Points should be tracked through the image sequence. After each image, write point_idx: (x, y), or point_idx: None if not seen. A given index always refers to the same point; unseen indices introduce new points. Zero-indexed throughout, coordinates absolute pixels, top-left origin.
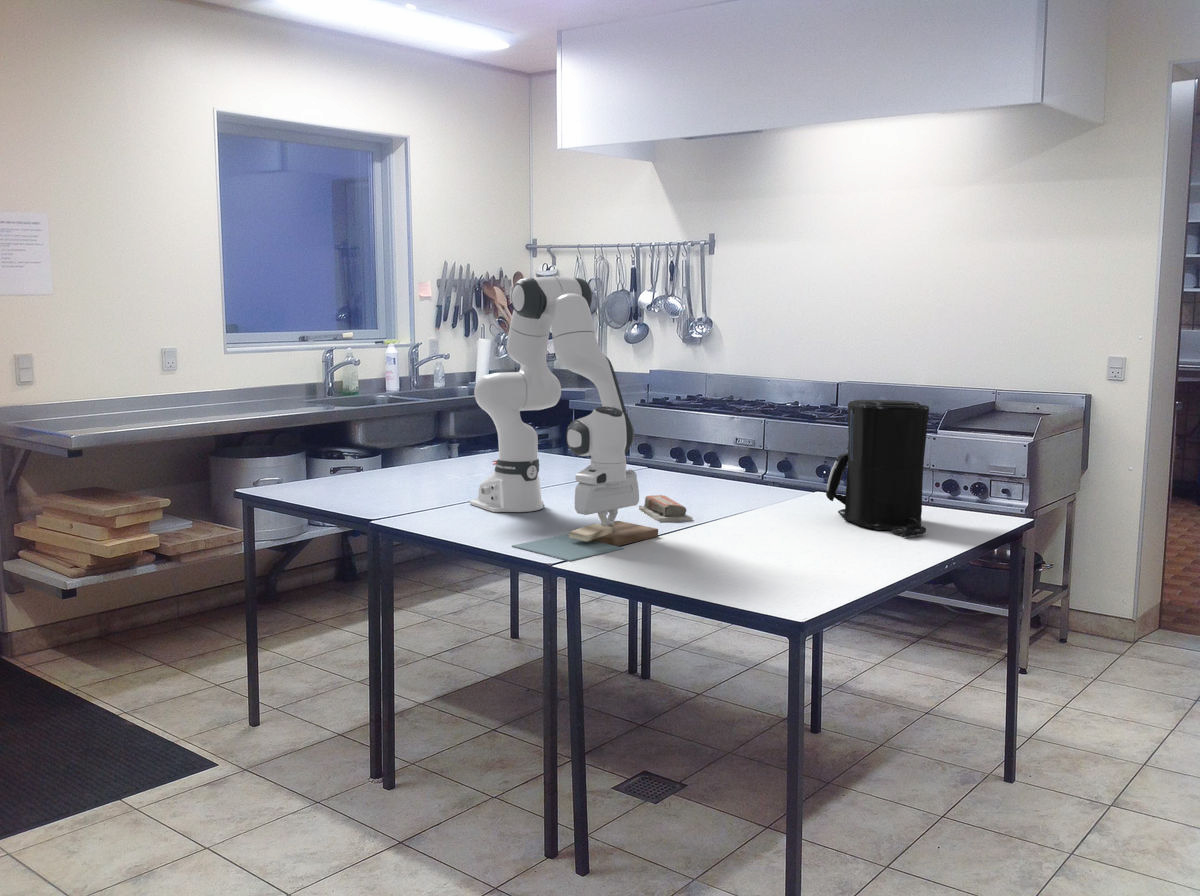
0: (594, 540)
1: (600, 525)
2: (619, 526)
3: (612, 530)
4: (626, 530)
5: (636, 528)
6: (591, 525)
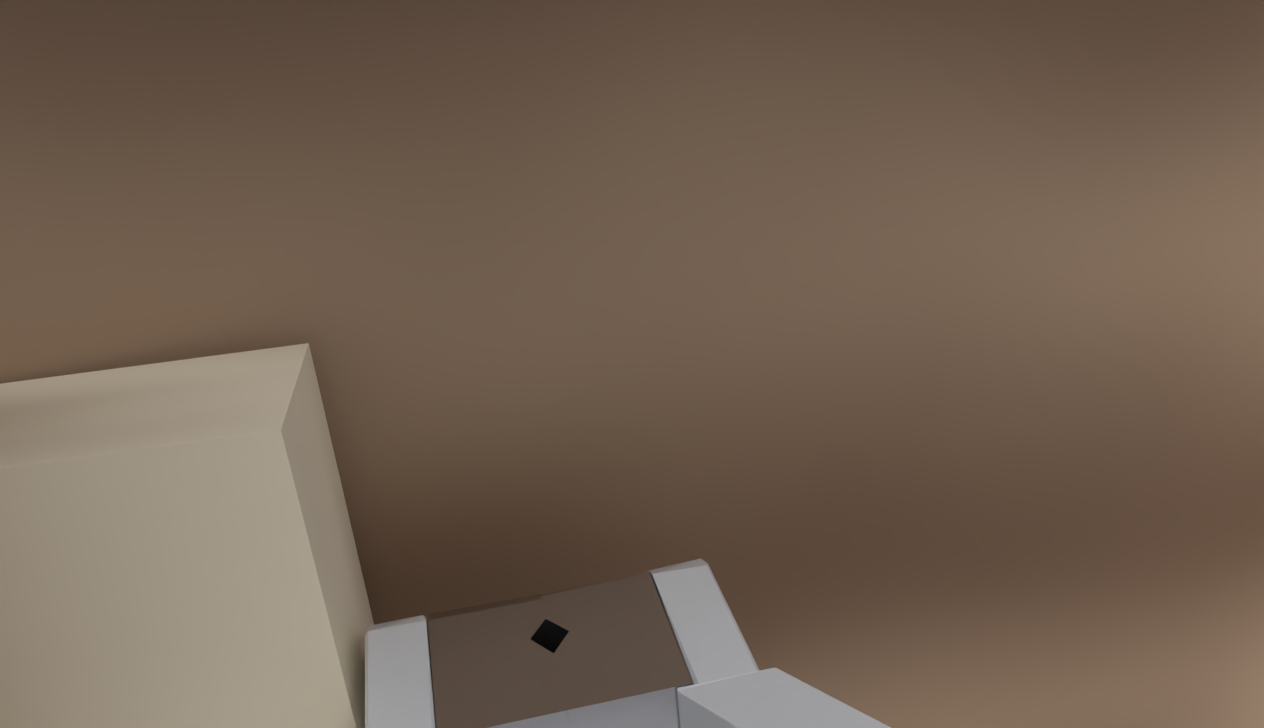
0: None
1: (289, 719)
2: (1150, 316)
3: None
4: (927, 709)
5: (1216, 654)
6: (43, 553)
